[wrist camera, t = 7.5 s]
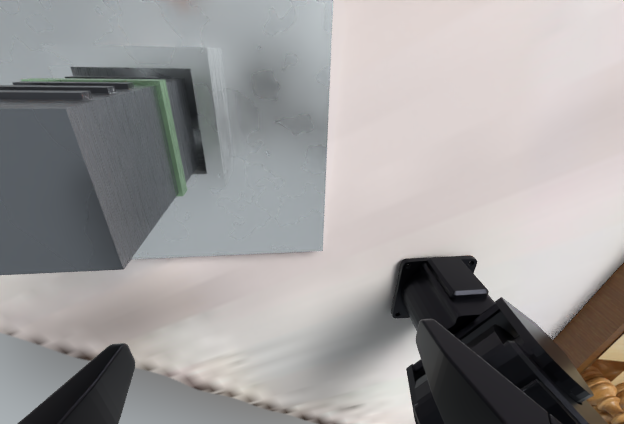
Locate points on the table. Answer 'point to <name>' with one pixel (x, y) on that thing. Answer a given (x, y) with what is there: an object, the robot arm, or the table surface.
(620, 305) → the chess set
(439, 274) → the robot arm
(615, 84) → the table surface
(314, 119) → the base
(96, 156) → the block
